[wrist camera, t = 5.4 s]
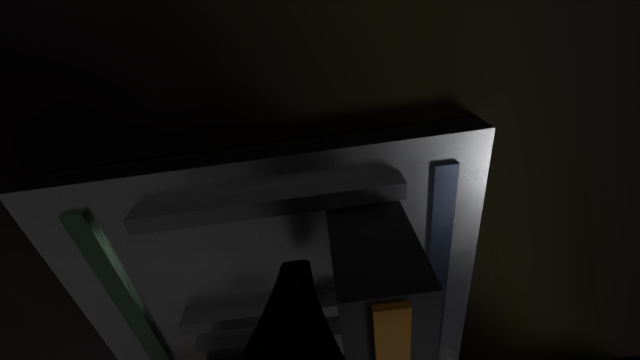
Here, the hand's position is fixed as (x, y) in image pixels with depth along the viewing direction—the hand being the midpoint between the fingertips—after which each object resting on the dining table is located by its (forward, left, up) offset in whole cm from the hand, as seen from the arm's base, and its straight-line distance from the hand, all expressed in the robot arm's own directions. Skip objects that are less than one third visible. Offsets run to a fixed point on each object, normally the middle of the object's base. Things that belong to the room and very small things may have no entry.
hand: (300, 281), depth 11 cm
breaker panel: (+1, +7, -3) cm, 8 cm away
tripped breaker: (-2, 0, -1) cm, 3 cm away
